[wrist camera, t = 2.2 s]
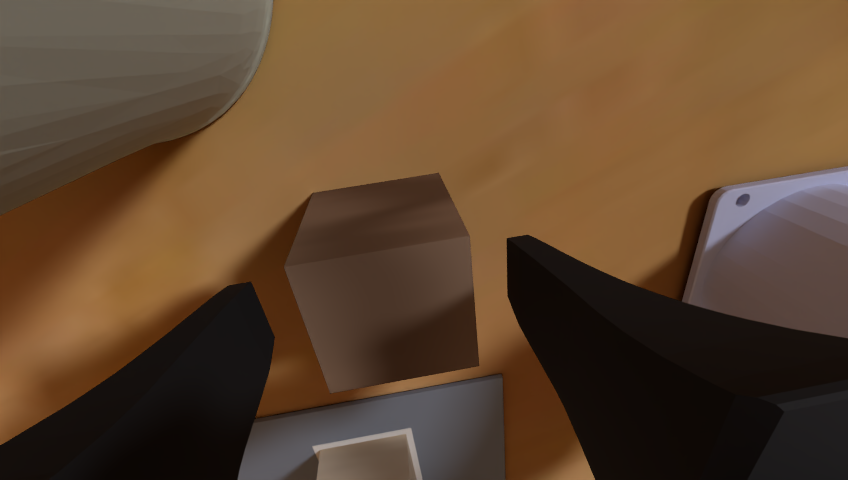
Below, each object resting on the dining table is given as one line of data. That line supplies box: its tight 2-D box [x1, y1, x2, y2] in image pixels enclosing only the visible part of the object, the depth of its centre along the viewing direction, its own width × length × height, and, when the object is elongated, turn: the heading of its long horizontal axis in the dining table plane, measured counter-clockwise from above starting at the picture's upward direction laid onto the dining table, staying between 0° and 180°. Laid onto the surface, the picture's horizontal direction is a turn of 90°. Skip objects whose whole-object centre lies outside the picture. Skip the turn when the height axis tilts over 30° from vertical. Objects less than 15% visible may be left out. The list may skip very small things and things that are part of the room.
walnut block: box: [284, 173, 479, 394], centre depth 11 cm, size 4×4×5 cm
